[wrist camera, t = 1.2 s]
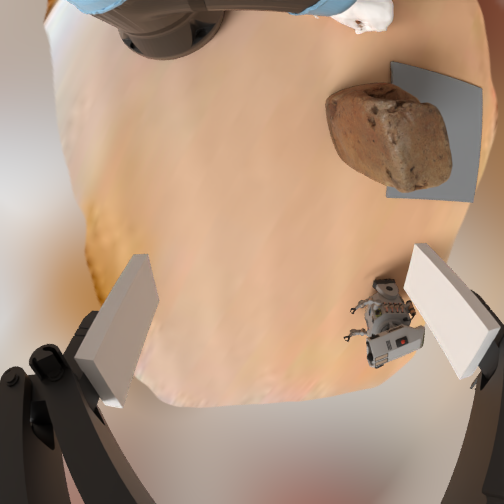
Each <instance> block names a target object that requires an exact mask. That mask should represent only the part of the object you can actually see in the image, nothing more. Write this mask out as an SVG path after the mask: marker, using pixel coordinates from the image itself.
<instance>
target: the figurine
mask: <svg viewBox="0 0 504 504" xmlns="http://www.w3.org/2000/svg"><path fill="white" fill-rule="evenodd" d="M373 287H374V288H375V289H376V290H377V291H378V292H377V293H375V294H374V295H373V296H371V297H369V299H366V300H361V301H359V303H358V305H357V306H356V308H351V310H354V311H353V313H352V314H354V312H355V311H356V310H357V309H358V308H359V307H360V308H363V307H364V306H365V305H367V306H366V310H365V320H366V323H367V328H368V329H367V331H365V329H363V328H362V329H361V330H356V329H352V330H350V334H349V336H345V337H344V339H345V338H348V340H345V341H347V342H349V339H350V337H351V336H352V335H353V336H354V335H361V336H363V335H364V334H365V335H367V336H368V338H366V341H367V342H366V344H367V360H368V363H369V365H370V367H375V368H376V369H377V368H379V367H381V366H383V365H384V363H387V362H389V361H392V360H394V359H397V358H399V357H402V356H404V355H406V354H409V353H411V352H413V351H415V350H418V349H420V348H422V346H423V343H424V335H425V327H423V326H422V325H421V326H418V327H416V328H413V327H410V326H409V325H410V323H411V320H412V319H413V317H414V316H415V315H416V312H415V309H414V307H413V305H412V302H411V301H410V300H409V301H407V302H406V304H404V301H403V299H402V298H401V297H400V295H399V294H398V292H399V291H398V287H397V286H396V284H395V280H394V279H389V280H387V279H385V280H375V281H374V282H373ZM350 312H351V311H350ZM408 313H410V314H411V316H413V317H412V318H411V319H410V316H409V314H408Z"/></svg>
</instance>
